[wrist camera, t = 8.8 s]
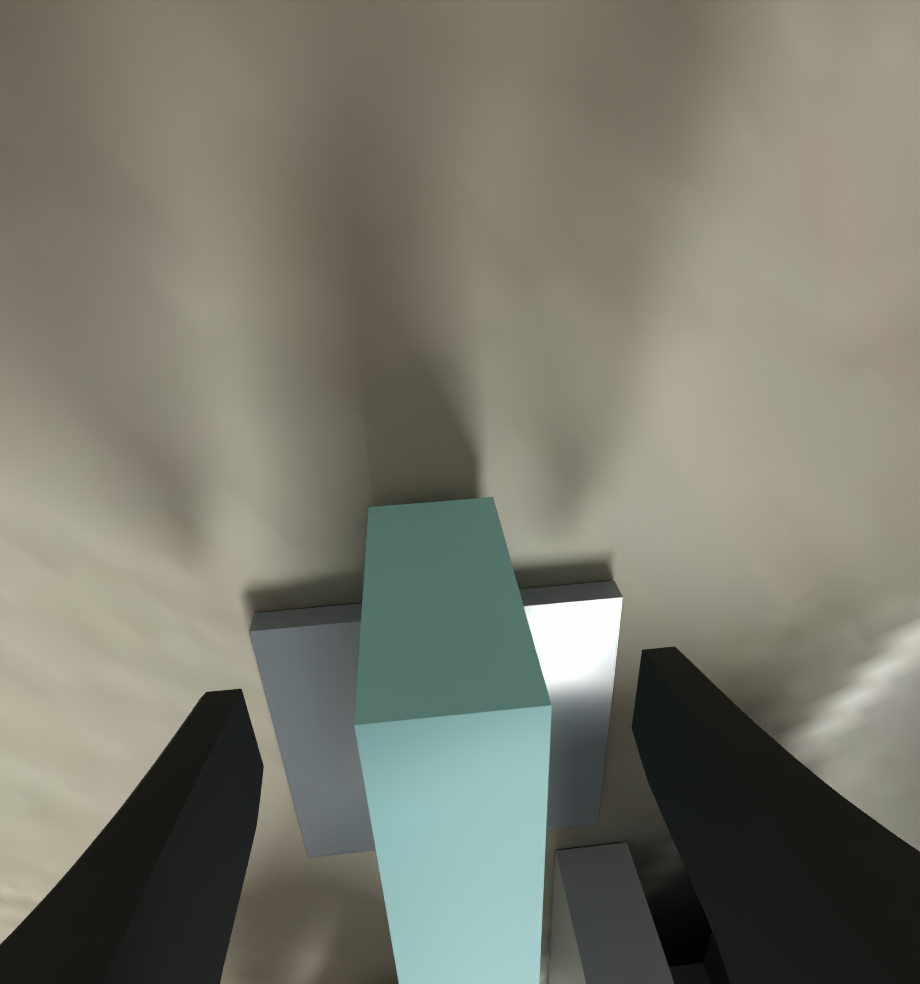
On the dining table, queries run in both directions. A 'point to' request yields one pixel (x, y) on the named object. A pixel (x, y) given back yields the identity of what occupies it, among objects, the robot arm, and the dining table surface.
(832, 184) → the dining table surface
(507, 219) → the dining table surface
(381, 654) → the tall teal prism
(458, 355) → the dining table surface
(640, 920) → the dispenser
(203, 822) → the robot arm
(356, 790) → the coaster
